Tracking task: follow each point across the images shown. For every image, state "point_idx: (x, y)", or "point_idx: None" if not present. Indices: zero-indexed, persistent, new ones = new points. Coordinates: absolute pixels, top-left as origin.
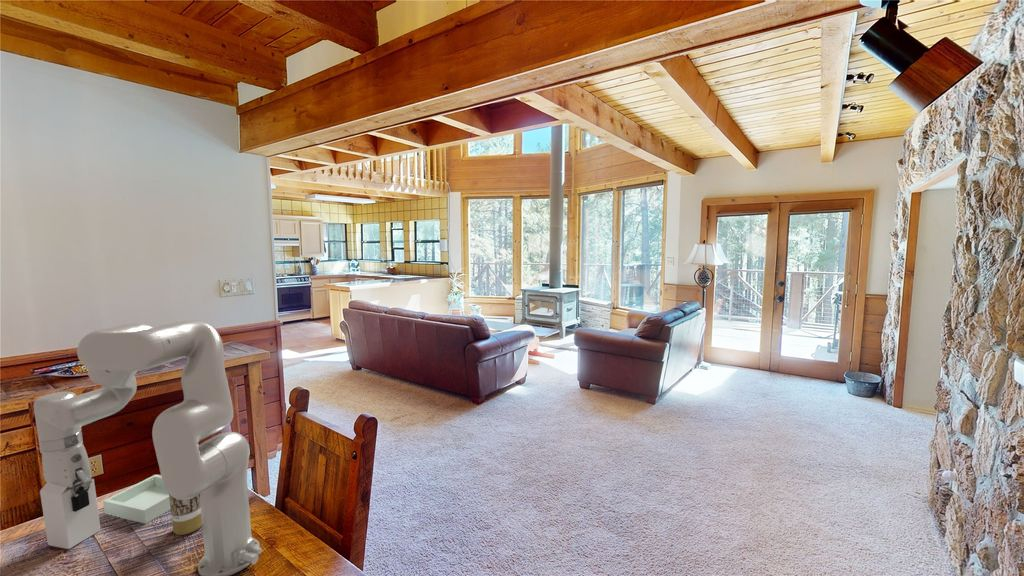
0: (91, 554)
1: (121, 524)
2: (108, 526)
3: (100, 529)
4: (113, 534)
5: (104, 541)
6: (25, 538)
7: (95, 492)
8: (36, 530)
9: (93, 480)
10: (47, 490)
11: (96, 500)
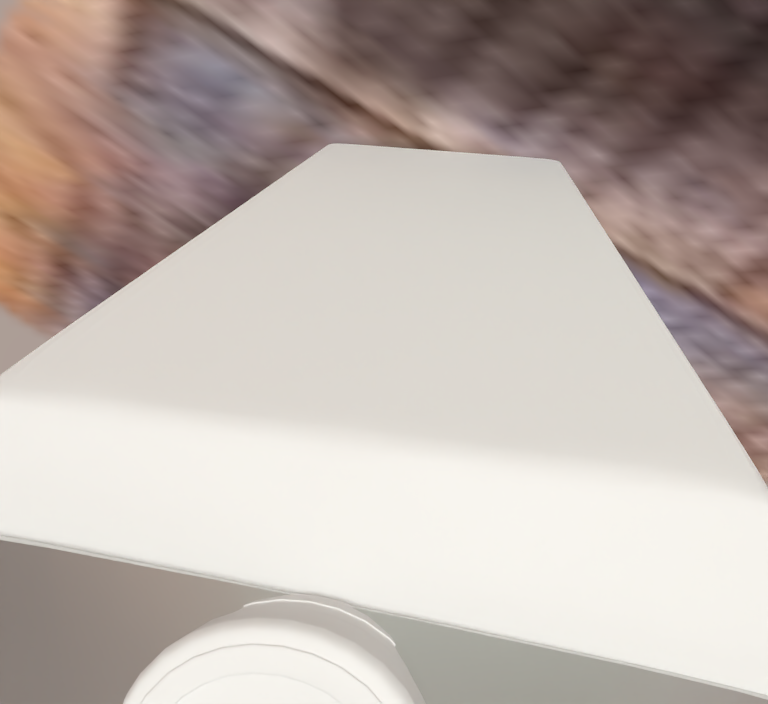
0: (739, 389)
1: (679, 45)
2: (571, 93)
3: (562, 165)
4: (723, 185)
5: (718, 268)
6: (91, 295)
7: (653, 310)
8: (48, 217)
9: (765, 493)
10: None
11: (623, 261)
